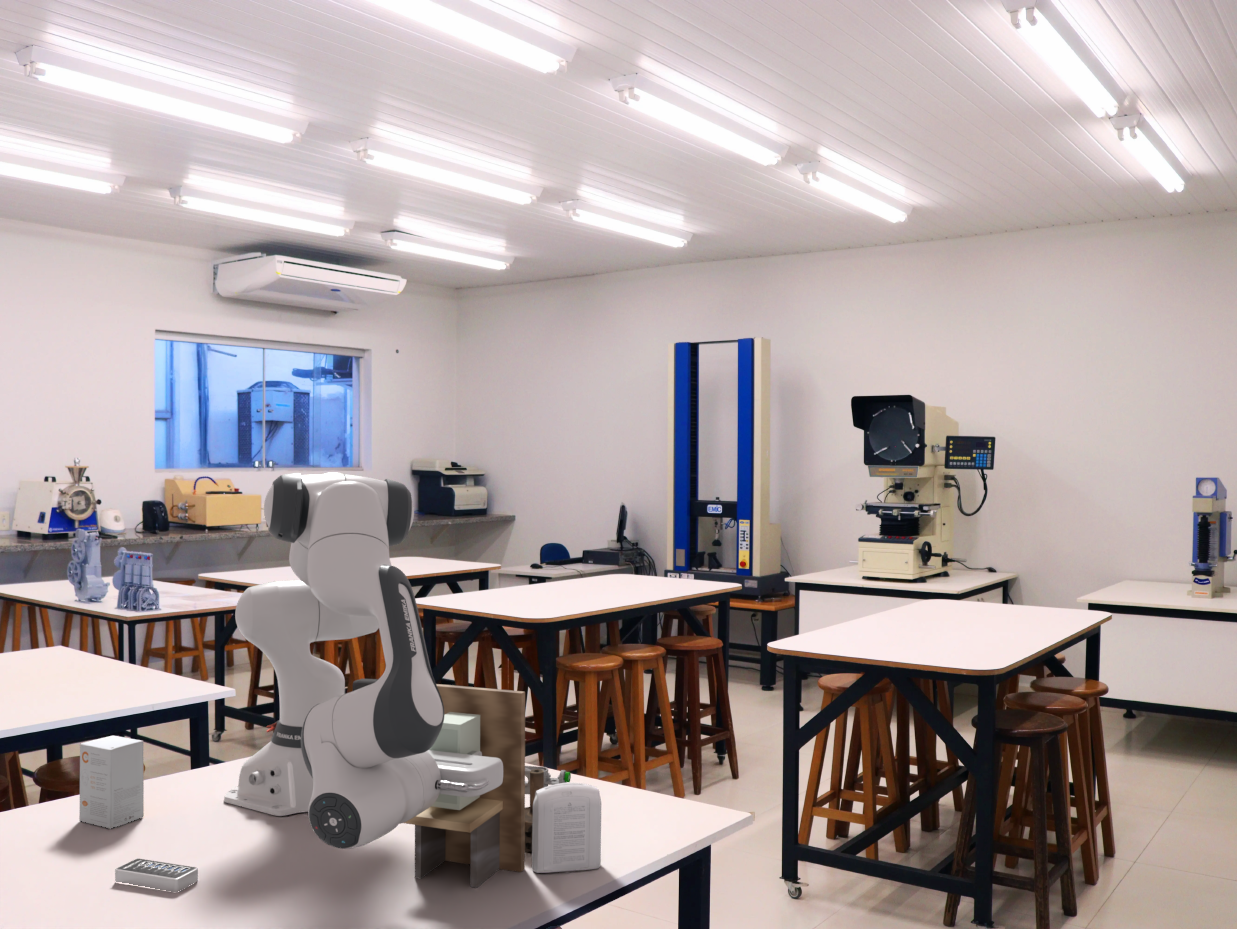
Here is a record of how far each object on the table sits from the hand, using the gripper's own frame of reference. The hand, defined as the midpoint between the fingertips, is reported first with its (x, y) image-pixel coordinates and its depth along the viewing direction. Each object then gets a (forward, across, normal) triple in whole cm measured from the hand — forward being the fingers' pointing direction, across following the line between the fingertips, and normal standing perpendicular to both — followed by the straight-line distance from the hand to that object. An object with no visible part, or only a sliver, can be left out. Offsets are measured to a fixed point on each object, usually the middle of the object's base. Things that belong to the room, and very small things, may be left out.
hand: (457, 754), depth 144 cm
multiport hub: (-17, +38, +18) cm, 46 cm away
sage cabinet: (-1, 0, +7) cm, 7 cm away
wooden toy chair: (-1, 0, +17) cm, 17 cm away
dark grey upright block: (+49, +46, +18) cm, 69 cm away
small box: (0, +65, +18) cm, 67 cm away
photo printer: (+7, -14, +18) cm, 24 cm away
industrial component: (+12, -7, +18) cm, 23 cm away
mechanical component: (+20, -4, +17) cm, 27 cm away
